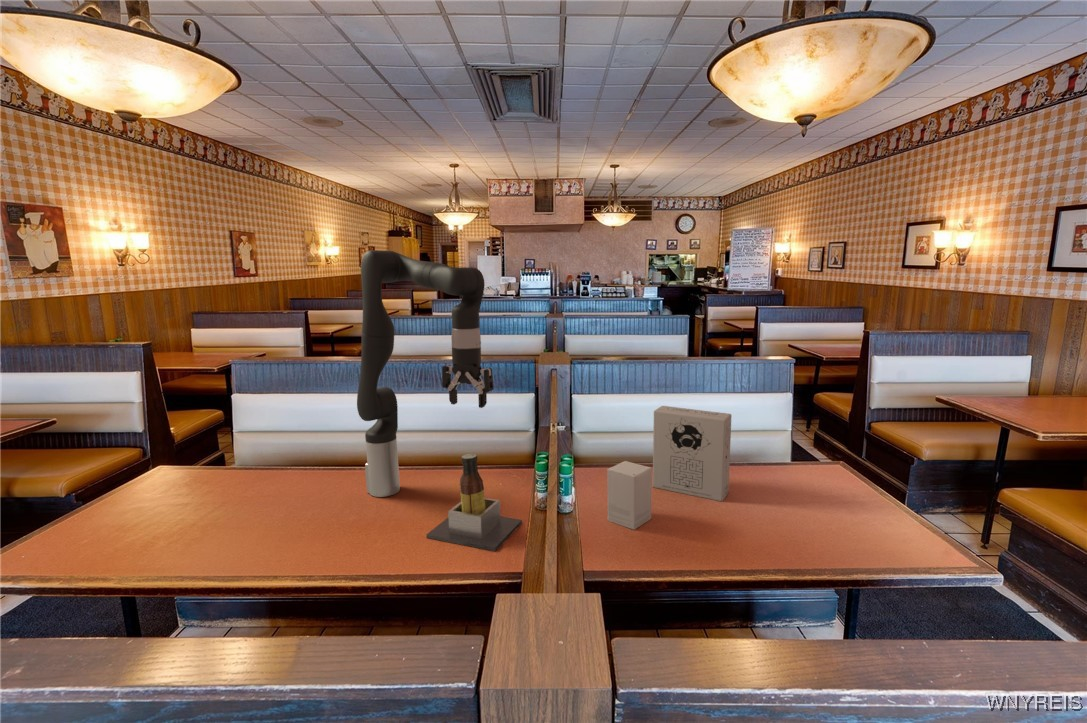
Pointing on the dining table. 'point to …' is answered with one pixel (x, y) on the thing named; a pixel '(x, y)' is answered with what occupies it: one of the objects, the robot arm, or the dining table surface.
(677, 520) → the dining table surface
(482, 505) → the sauce bottle
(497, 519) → the condiment holder
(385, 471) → the robot arm
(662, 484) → the cereal box
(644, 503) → the supplement box
